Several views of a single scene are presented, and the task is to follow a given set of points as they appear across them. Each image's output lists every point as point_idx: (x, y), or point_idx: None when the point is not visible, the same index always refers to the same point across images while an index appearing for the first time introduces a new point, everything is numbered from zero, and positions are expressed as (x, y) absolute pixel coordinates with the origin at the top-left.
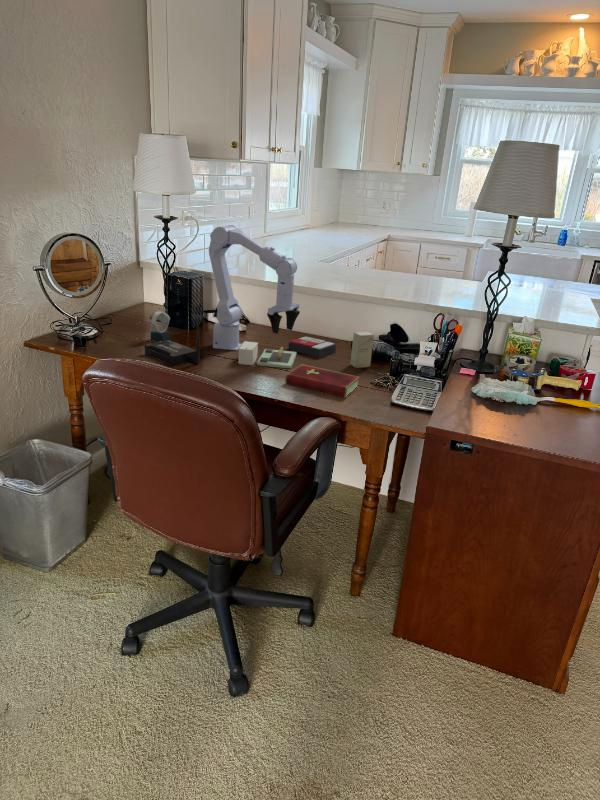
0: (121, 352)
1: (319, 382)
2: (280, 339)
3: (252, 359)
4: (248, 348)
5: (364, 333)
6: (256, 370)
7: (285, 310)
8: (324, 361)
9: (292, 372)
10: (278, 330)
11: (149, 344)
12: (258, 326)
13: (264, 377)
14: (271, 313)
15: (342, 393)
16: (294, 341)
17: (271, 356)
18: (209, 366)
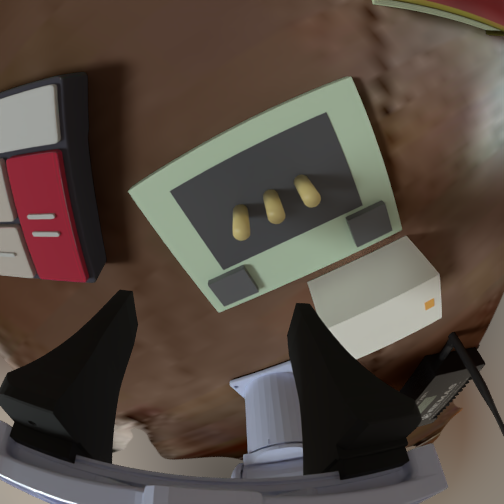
0: None
1: None
2: (67, 337)
3: (417, 249)
4: (426, 299)
5: None
6: (446, 189)
7: (296, 497)
8: (106, 23)
9: (496, 14)
10: (305, 316)
11: (426, 423)
12: None
13: (485, 126)
14: (435, 455)
15: None
16: (73, 265)
17: (293, 233)
18: (461, 309)
